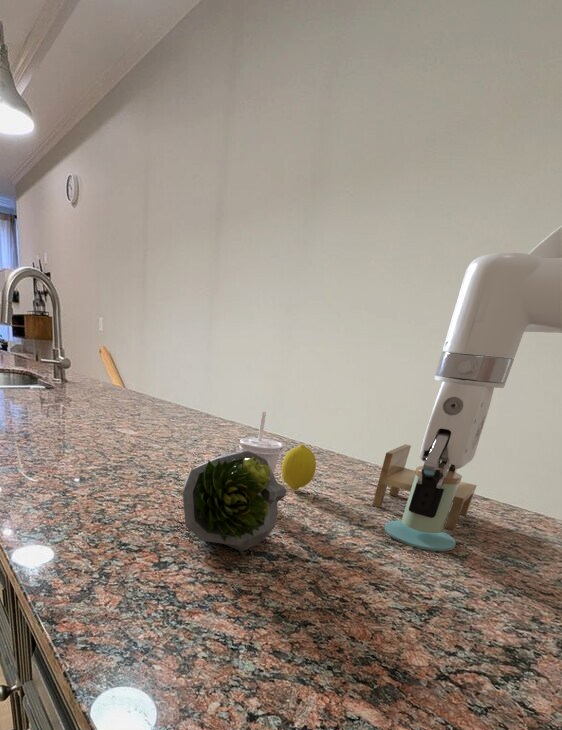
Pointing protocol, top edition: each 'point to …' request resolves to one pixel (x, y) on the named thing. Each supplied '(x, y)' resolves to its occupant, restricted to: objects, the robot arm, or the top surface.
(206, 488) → the potted plant
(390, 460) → the toy wooden bed
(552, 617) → the top surface
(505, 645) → the top surface
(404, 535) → the coaster
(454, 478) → the spice jar
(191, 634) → the top surface
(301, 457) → the lemon
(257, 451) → the smoothie
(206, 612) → the top surface
